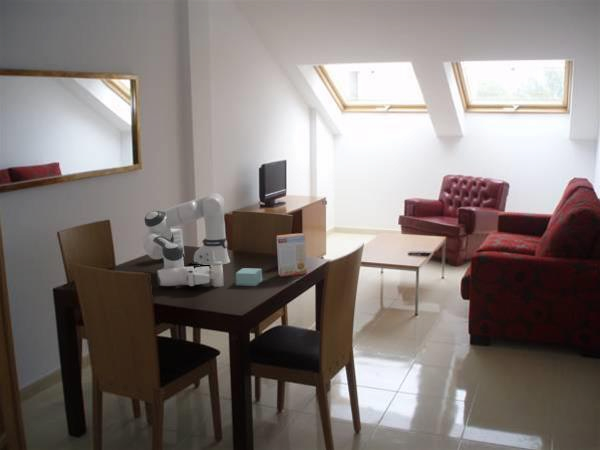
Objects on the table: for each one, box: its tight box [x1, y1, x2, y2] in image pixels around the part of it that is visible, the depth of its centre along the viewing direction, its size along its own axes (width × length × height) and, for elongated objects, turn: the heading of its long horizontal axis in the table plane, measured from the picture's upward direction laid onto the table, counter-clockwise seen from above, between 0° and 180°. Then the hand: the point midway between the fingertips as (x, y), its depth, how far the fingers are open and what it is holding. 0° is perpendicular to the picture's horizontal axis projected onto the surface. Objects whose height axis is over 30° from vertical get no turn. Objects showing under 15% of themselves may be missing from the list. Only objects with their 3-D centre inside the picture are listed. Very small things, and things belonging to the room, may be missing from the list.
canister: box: [210, 261, 225, 288], centre depth 326 cm, size 6×6×12 cm
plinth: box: [235, 267, 264, 287], centre depth 330 cm, size 11×11×6 cm
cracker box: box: [276, 232, 308, 278], centre depth 341 cm, size 14×6×21 cm, turn 102°
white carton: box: [170, 228, 185, 255], centre depth 390 cm, size 10×9×17 cm
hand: (218, 273), depth 326 cm, fingers closed on canister, 6 cm apart
